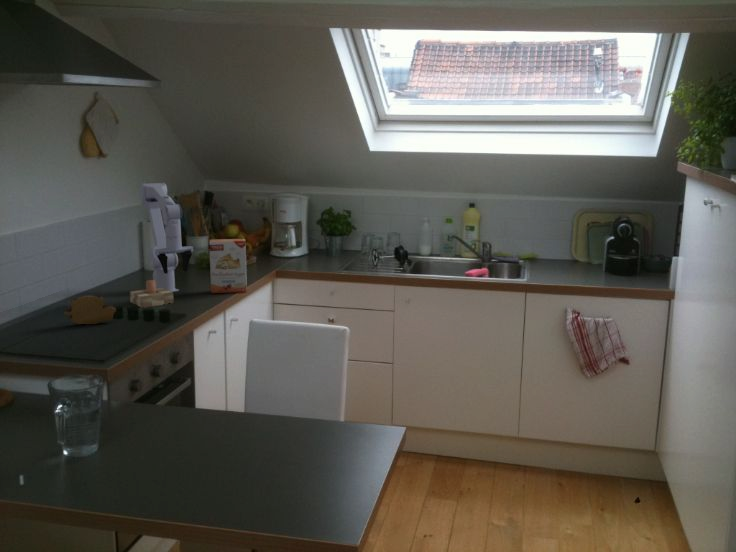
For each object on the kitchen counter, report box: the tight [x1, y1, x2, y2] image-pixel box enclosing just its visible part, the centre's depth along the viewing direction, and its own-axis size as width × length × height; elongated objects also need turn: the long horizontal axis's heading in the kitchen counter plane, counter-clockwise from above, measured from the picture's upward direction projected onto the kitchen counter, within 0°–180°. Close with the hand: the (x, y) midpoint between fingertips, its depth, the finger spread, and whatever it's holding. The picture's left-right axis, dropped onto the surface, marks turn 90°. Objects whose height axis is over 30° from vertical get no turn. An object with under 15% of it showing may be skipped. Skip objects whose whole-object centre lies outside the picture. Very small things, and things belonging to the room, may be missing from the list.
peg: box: [145, 279, 156, 294], centre depth 278 cm, size 3×3×8 cm
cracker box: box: [208, 238, 248, 294], centre depth 295 cm, size 14×6×21 cm, turn 99°
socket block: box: [129, 287, 175, 309], centre depth 278 cm, size 12×12×4 cm
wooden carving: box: [63, 294, 117, 325], centre depth 247 cm, size 16×5×10 cm, turn 114°
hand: (175, 272), depth 284 cm, fingers open, 7 cm apart
